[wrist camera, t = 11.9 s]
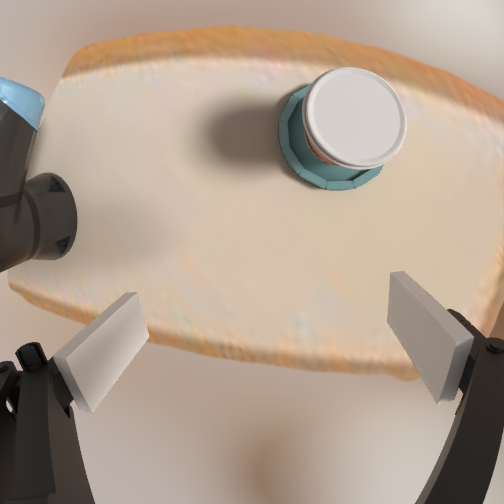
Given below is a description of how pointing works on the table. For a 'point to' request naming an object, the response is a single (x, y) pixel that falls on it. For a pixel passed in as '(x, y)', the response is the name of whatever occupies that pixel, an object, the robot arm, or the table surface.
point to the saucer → (306, 160)
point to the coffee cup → (353, 119)
